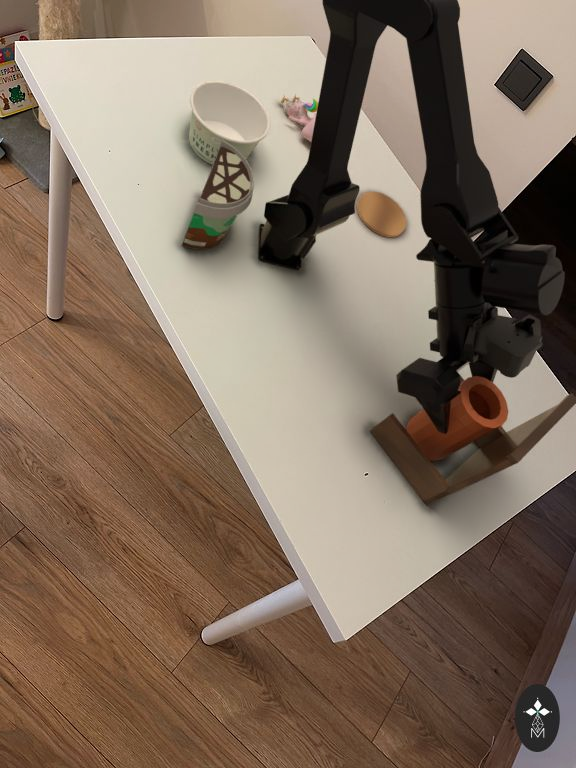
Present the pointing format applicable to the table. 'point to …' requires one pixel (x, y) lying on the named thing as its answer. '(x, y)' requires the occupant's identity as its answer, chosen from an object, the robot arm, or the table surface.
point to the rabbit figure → (302, 114)
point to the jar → (461, 419)
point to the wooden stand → (486, 461)
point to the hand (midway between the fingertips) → (463, 415)
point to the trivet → (381, 214)
